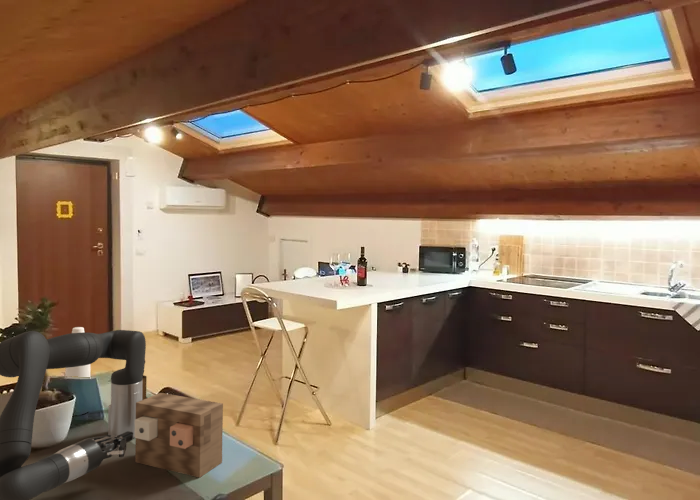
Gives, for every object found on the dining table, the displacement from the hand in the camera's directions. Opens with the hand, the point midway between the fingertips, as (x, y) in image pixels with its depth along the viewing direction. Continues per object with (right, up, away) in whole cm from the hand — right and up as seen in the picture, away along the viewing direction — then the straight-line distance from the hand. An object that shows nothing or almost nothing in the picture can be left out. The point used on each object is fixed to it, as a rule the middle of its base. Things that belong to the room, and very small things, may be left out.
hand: (130, 435), depth 142 cm
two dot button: (+13, -3, +2) cm, 14 cm away
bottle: (-38, -8, +47) cm, 61 cm away
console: (+10, -11, +9) cm, 17 cm away
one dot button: (+2, -2, +6) cm, 7 cm away
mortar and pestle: (-19, -8, +54) cm, 58 cm away
